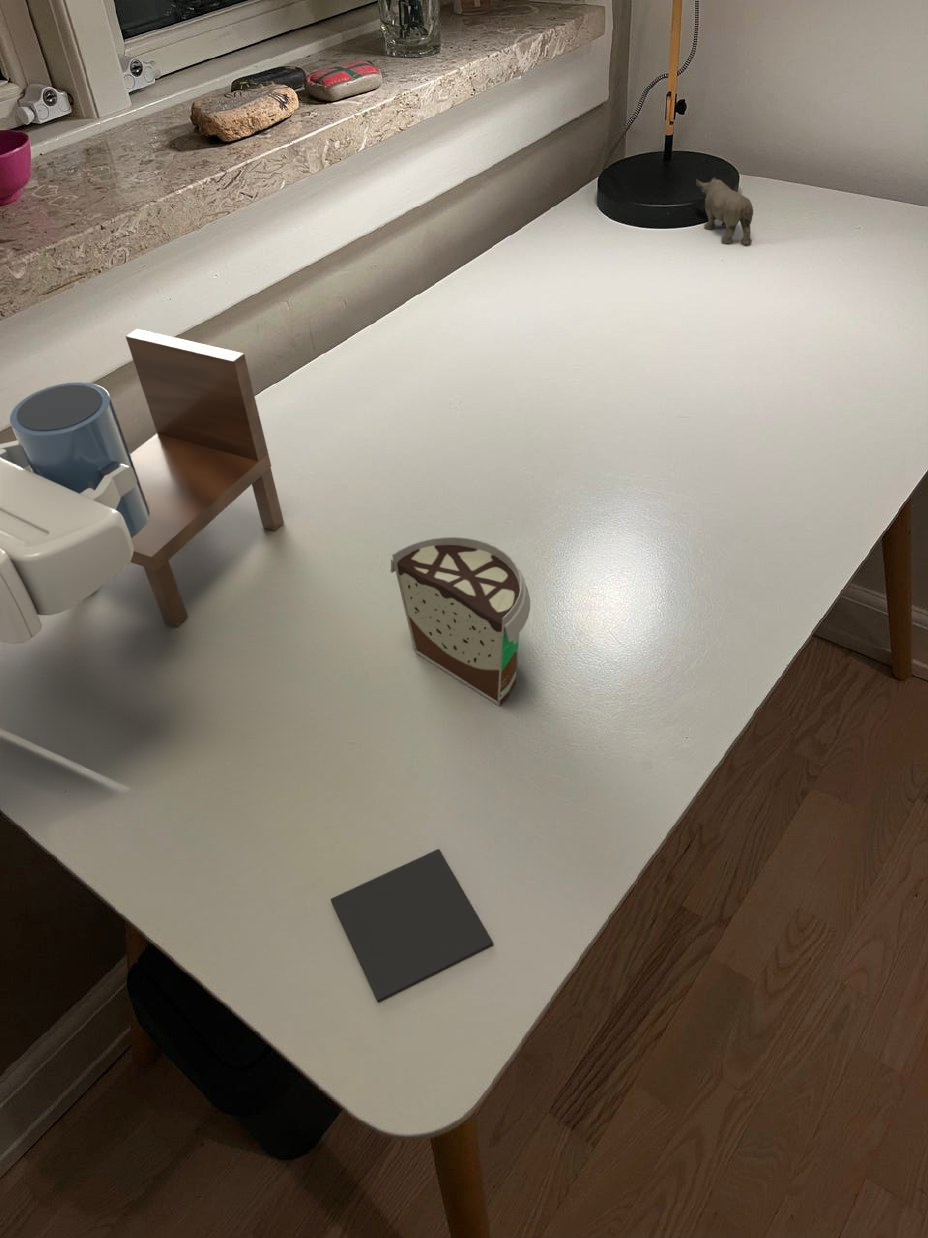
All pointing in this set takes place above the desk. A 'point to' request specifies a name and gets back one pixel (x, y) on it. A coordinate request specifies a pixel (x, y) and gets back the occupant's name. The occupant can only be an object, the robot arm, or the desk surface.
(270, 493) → the miniature wooden chair
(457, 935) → the mat
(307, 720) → the desk surface
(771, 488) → the desk surface
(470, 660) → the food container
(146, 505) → the cup
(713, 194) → the rhino figurine
